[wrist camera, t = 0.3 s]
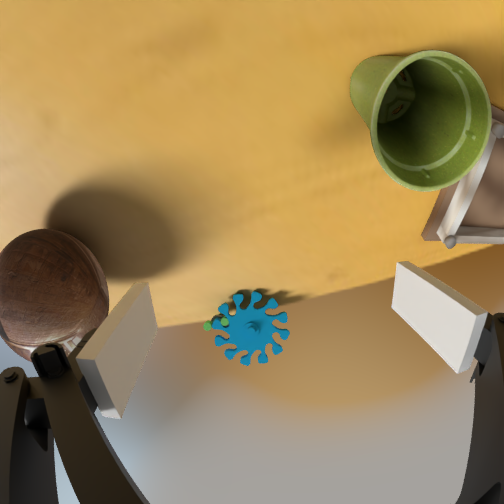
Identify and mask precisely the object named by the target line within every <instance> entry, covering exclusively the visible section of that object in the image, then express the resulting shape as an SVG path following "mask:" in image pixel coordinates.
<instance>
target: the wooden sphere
mask: <svg viewBox="0 0 504 504" xmlns="http://www.w3.org/2000/svg"><path fill="white" fill-rule="evenodd" d="M108 311H109V292H108V286H107V282H106V278H105V275H104V273H103V270H102V268H101V266H100V264H99V262H98V261H97V259H96V257H95V256H94V255H93V253H92V252H91V251H90V250H89V249H88V248H87V247H86V246H85V245H84V244H83V243H82V242H81V241H79V240H78V239H76V238H75V237H73V236H71V235H69V234H67V233H64V232H62V231H58V230H53V229H38V230H33V231H29V232H26V233H24V234H22V235H20V236H18V237H16V238H15V239H14V240H12V241H11V242H10V243H9V244H8V245H7V246H6V247H5V248H4V249H3V250H2V252H1V253H0V336H1V337H2V339H3V340H4V341H5V342H6V344H7V345H8V346H9V347H10V348H11V349H12V350H13V351H14V352H16V353H17V354H18V355H20V356H21V357H23V358H25V359H26V360H28V361H31V358H30V356H31V353H32V352H33V351H34V350H35V349H36V348H37V347H39V346H41V345H43V344H46V343H50V342H56V343H59V344H61V345H62V347H63V349H64V351H65V354H66V356H67V357H68V356H69V354H70V353H71V352H72V351H73V349H74V348H75V347H76V345H77V344H78V343H79V342H80V340H81V339H82V338H83V337H84V335H85V334H86V333H88V332H89V331H91V330H92V329H94V328H99V326H100V325H101V324H102V323H103V321H104V320H105V319H106V317H107V316H108ZM31 362H32V361H31Z"/></svg>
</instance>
